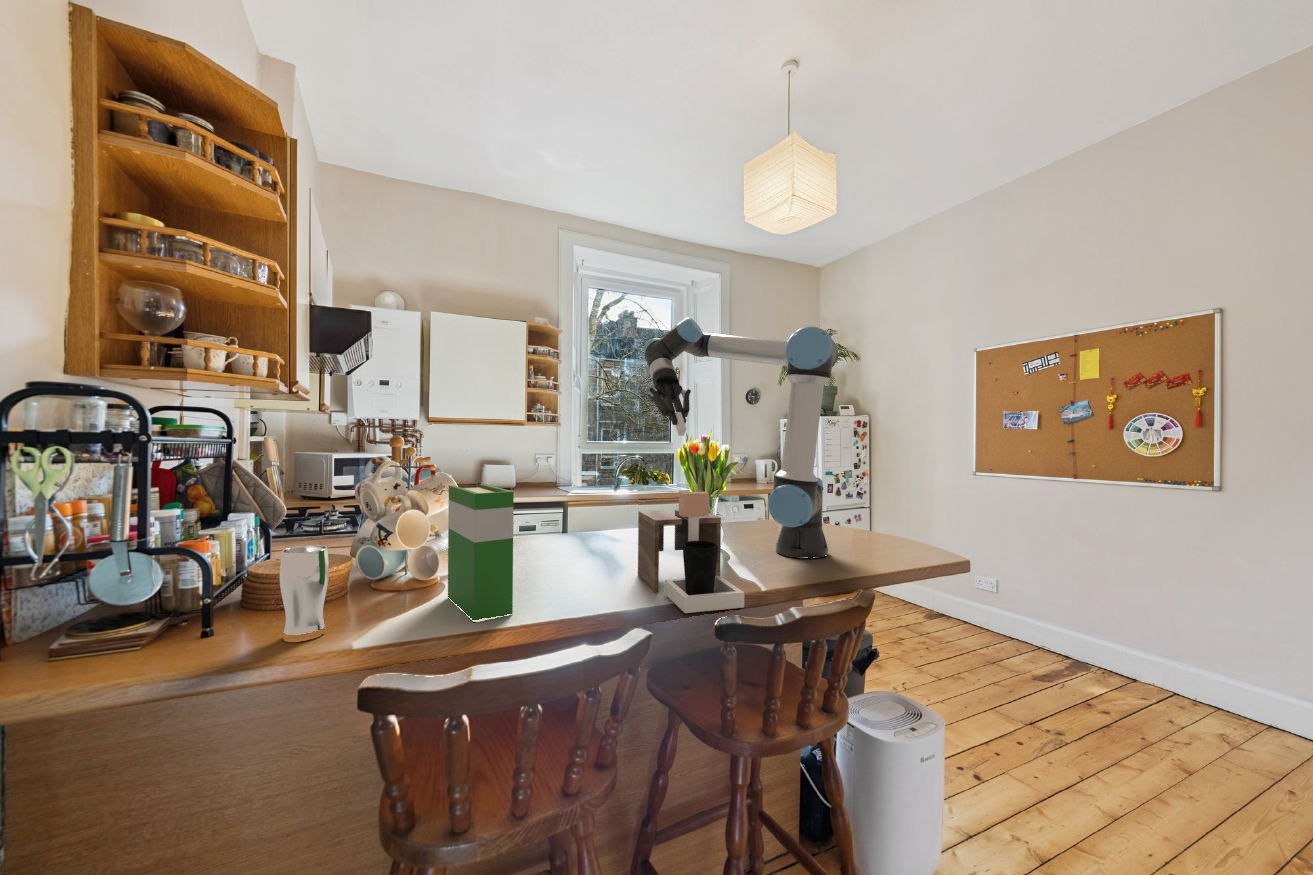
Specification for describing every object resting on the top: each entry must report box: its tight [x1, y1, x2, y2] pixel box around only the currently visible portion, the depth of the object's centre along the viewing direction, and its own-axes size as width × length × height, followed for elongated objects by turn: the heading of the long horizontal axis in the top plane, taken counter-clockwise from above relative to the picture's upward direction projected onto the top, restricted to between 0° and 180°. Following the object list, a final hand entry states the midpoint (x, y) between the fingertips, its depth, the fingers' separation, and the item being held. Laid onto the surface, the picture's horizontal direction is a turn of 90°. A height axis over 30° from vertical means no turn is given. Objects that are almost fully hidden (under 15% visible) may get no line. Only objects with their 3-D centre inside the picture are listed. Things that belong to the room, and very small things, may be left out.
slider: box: [664, 491, 745, 614], centre depth 108 cm, size 13×14×22 cm
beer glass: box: [279, 544, 330, 635], centre depth 88 cm, size 7×7×15 cm
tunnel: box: [637, 509, 722, 594], centre depth 123 cm, size 16×14×16 cm
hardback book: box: [447, 483, 515, 620], centre depth 103 cm, size 18×7×24 cm, turn 37°
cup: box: [682, 541, 718, 595], centre depth 109 cm, size 8×8×12 cm
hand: (682, 431), depth 137 cm, fingers closed
